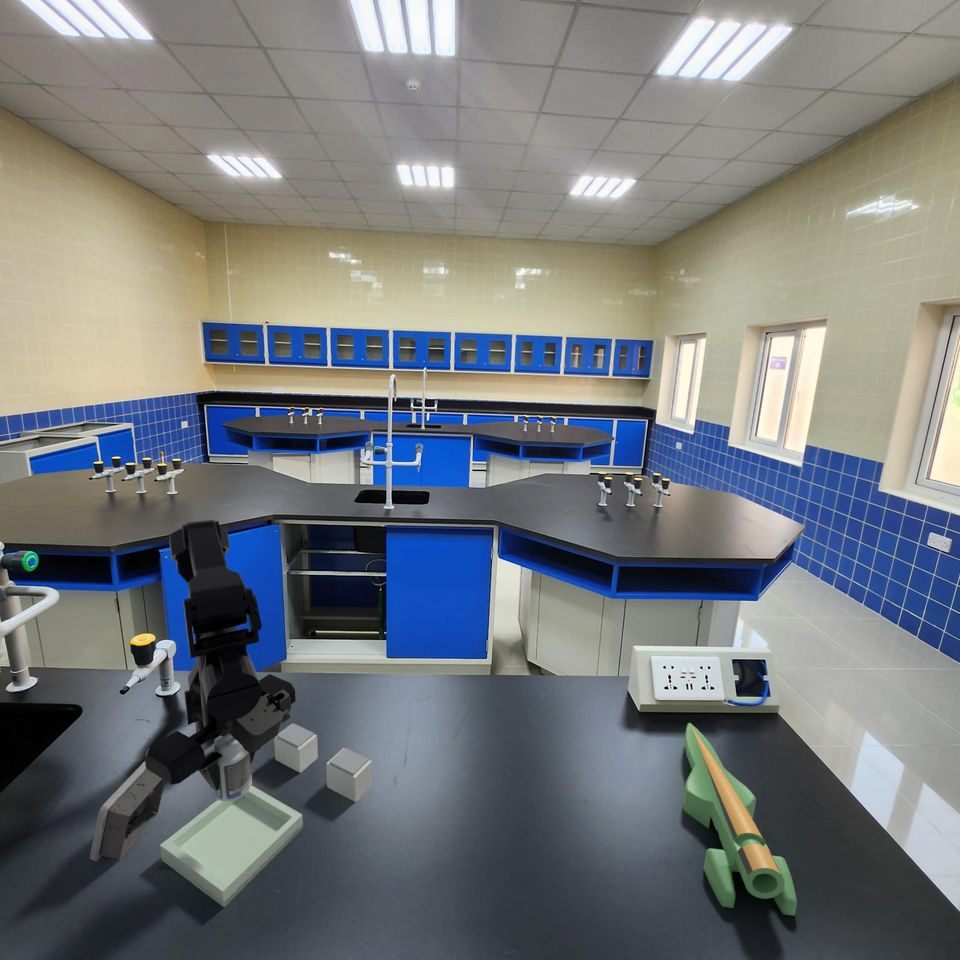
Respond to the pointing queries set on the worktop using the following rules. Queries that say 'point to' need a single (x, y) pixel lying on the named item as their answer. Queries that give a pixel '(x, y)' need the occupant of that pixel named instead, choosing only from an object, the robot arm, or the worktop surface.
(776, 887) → the green toy rocket
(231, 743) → the pill bottle
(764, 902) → the worktop surface
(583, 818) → the worktop surface
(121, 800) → the electrical switch
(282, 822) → the tray
